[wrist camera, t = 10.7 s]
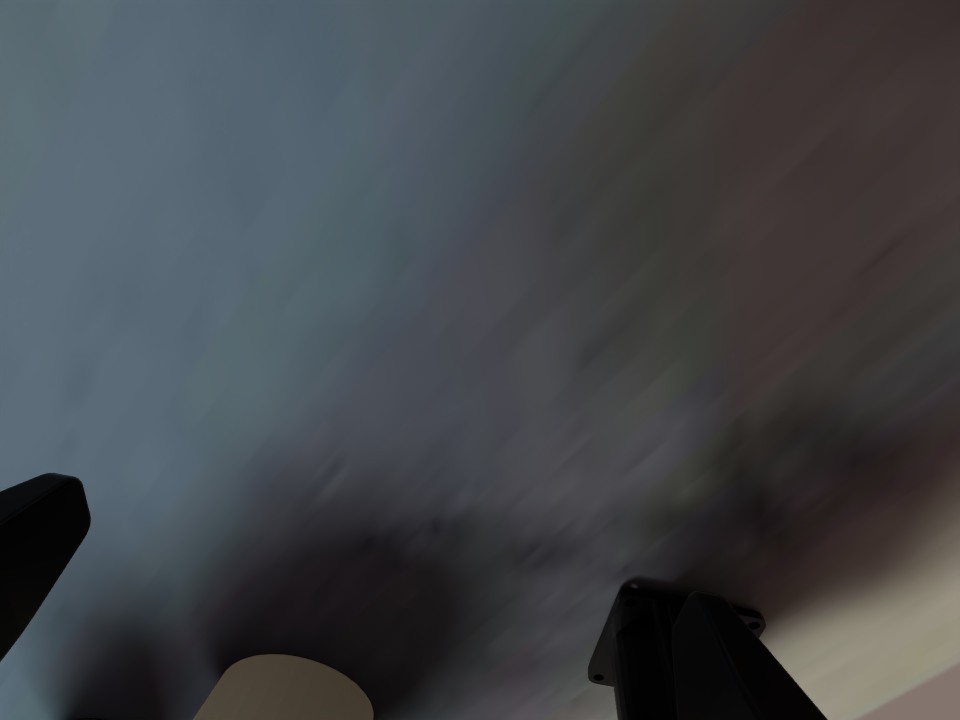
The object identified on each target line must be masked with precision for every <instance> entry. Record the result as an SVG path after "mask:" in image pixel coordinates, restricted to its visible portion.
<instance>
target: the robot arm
mask: <svg viewBox="0 0 960 720" xmlns="http://www.w3.org/2000/svg"><path fill="white" fill-rule="evenodd" d="M90 522H91V517H90V512H89V508H88V504H87V500H86V496H85V492H84V488H83V484H82V482H81V481H80V480H79V479H78V478H76V477H73V476H68V475H62V474H57V473H47V474H43V475H40V476H38V477H35V478H33V479H30V480H28V481H25V482H23V483H20V484H18V485H15V486H13V487H10V488H8V489H5V490H3V491H1V492H0V662H1V660H2V659H3V658H4V657H5V655H6V654H7V653H8V651H9V650H10V649H11V647H12V646H13V645H14V643H15V642H16V641H17V639H18V638H19V637H20V635H21V634H22V633H23V631H24V630H25V628H26V627H27V625H28V624H29V622H30V621H31V620H32V618H33V617H34V615H35V614H36V612H37V610H38V609H39V607H40V606H41V604H42V603H43V601H44V600H45V598H46V597H47V595H48V593H49V592H50V590H51V589H52V587H53V586H54V584H55V583H56V581H57V580H58V578H59V576H60V575H61V573H62V572H63V570H64V569H65V567H66V566H67V564H68V563H69V561H70V559H71V558H72V556H73V555H74V553H75V552H76V550H77V549H78V547H79V546H80V544H81V542H82V541H83V539H84V538H85V536H86V534H87V532H88V530H89V527H90ZM765 627H766V623H765V621H764V618H763V616H762V614H761V613H760V612H758V611H755V610H749V609H744V608H739V607H733V606H731V605H730V604H729V603H728V602H727V601H726V600H725V599H724V598H723V597H721V596H719V595H716V594H711V593H706V592H700V591H694V592H692V593H691V594H690V595H689V596H688V598H684V597H679V596H673V595H668V594H663V593H657V592H652V591H646V590H641V589H635V588H625V589H623V590H621V591H620V592H619V593H618V596H617V598H616V600H615V603H614V605H613V608H612V610H611V613H610V615H609V618H608V620H607V622H606V625H605V627H604V630H603V632H602V635H601V637H600V640H599V642H598V644H597V647H596V649H595V652H594V654H593V657H592V659H591V661H590V664H589V666H588V678H589V680H590V681H591V682H593V683H596V684H601V685H606V686H612V687H614V693H615V701H616V709H617V717H618V720H828V719H827V718H826V717H825V716H824V715H823V714H822V712H821V711H820V710H819V709H818V708H817V706H816V705H815V704H814V703H813V702H812V701H811V699H810V698H809V697H808V696H807V695H806V694H805V692H804V691H803V690H802V689H801V688H800V686H799V685H798V684H797V683H796V682H795V681H794V679H793V678H792V677H791V676H790V675H789V674H788V672H787V671H786V670H785V669H784V668H783V666H782V665H781V664H780V663H779V662H778V661H777V659H776V658H775V657H774V656H773V655H772V654H771V652H770V651H769V650H768V649H767V648H766V646H765V645H764V644H763V643H762V642H761V641H760V639H759V637H760V635H761V634H762V632H763V630H764V629H765Z"/></svg>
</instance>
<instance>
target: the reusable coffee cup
mask: <svg viewBox="0 0 960 720" xmlns="http://www.w3.org/2000/svg"><path fill="white" fill-rule="evenodd" d="M373 713H374V712H373V709H372V705H371V702H370V701H369V699H368V697H367V696H366V694H365V693H364V692H363V691H362V689H361V688H360V687H359V686H358V685H357V684H356V683H354V682H353V681H352V680H351V679H349V678H348V677H347V676H345V675H344V674H342V673H340V672H338V671H337V670H335V669H333V668H331V667H329V666H326V665H324V664H321V663H319V662H316V661H313V660H309V659H306V658H302V657H297V656H291V655H281V654H266V655H257V656H252V657H249V658H245V659H242V660H240V661H238V662H236V663H234V664H232V665H231V666H230V667H229V668H228V669H227V670H226V671H225V672H224V674H223V675H222V677H221V678H220V680H219V681H218V683H217V684H216V686H215V687H214V689H213V690H212V692H211V693H210V695H209V696H208V698H207V699H206V701H205V702H204V704H203V705H202V707H201V708H200V710H199V711H198V713H197V714H196V716H195V717H194V719H193V720H373Z"/></svg>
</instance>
